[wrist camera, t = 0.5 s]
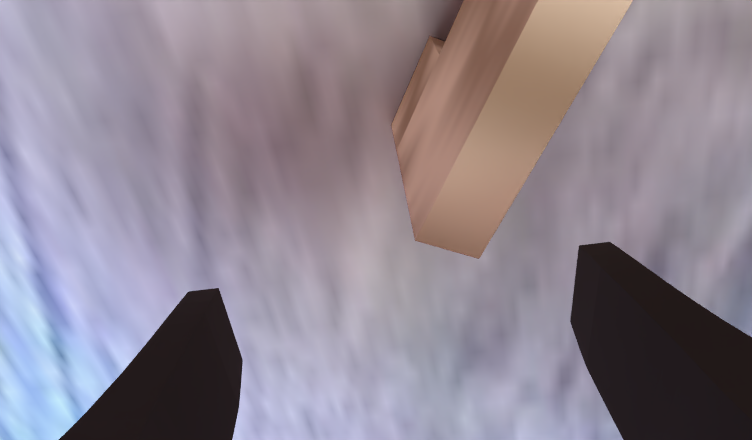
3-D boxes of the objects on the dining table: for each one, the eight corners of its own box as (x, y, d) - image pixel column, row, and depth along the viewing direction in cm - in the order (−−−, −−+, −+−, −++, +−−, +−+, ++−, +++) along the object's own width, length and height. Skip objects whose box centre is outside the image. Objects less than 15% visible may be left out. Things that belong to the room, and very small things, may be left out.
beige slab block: (532, -205, 15) (657, -233, 9) (589, -174, 16) (742, -184, 10) (391, 125, 20) (414, 240, 14) (437, 140, 21) (479, 258, 15)
